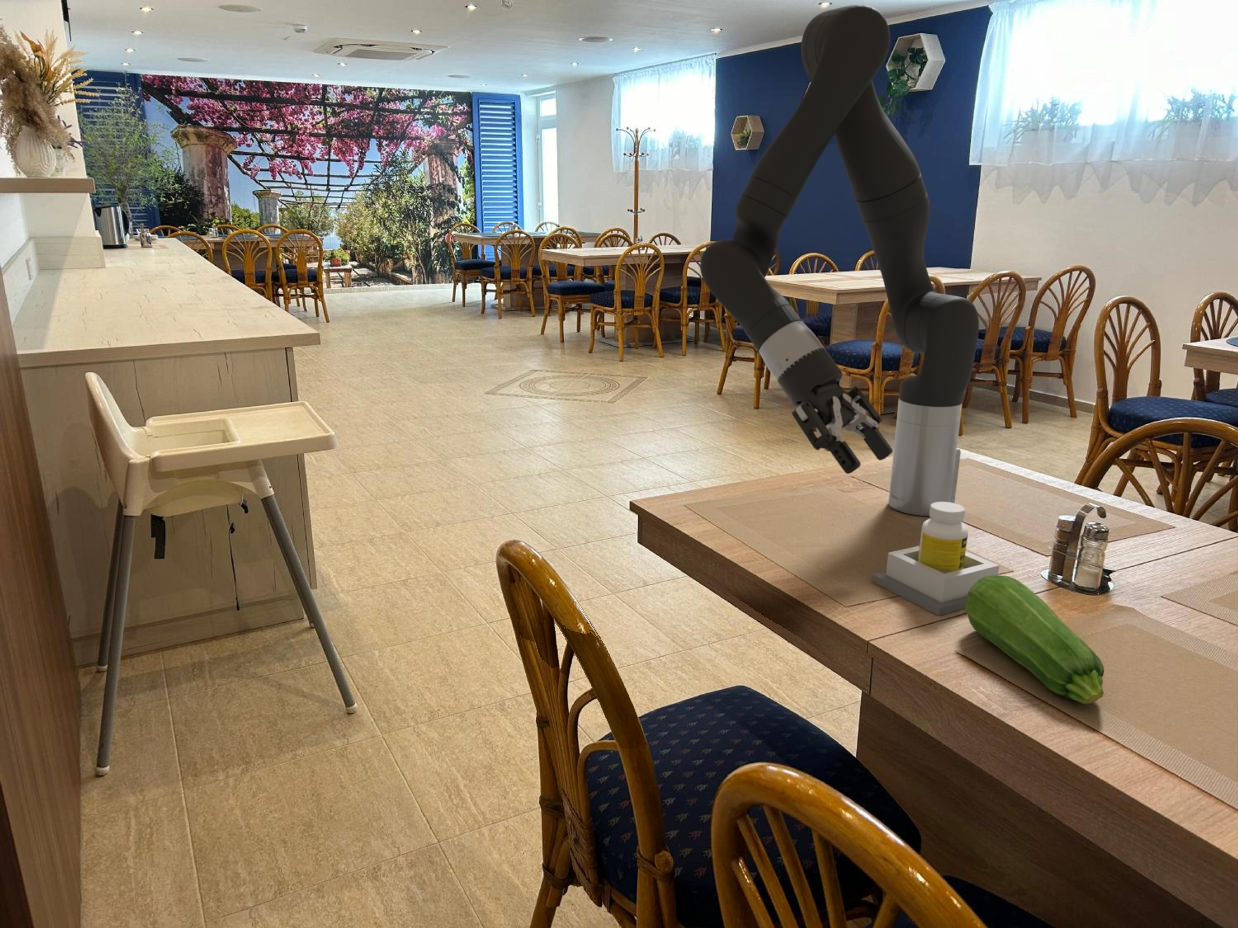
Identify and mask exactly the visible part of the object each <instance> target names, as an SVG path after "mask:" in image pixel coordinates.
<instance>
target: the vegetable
mask: <svg viewBox="0 0 1238 928" xmlns="http://www.w3.org/2000/svg"><path fill="white" fill-rule="evenodd" d="M964 611H965V613H966V614H967V615H966V616H967V618H968V621H969V623H970V625H971V627H972V628H973V630H975V631H976V632H977V633H978V634H979V635H980V636H981V637H983V638H984V639H986V640H987V641H989V642H990V643H992V645H994V646H996V647H997V648H999V649H1000V650H1001V651H1003V652H1004V653H1005V654H1007V656H1008V657H1010V658H1011V659H1012V660H1013V661H1015V662H1017V663H1018V664H1020V665H1021V666H1022V667H1023V668H1025V669H1027V671H1029V672H1031V673H1032V674H1033V675H1034V676H1035V677H1036V679H1038V680H1039V681H1040V682H1041V683H1042V684H1043V685H1044V686H1045V687H1046V688H1047V689H1048V690H1049V691H1051V692H1053V693H1054V694H1056V695H1059V696H1062V697H1064V698H1065V699H1067V700H1070V701H1071V700H1073V701H1074V702H1075V701H1076V702H1079V704H1083V705H1088V704H1094V703H1095V702H1097V701H1098V700H1099V699H1102V698H1103V697H1104V689H1103V687H1102V686H1103V682H1104V679H1103V677H1104V674H1105V667H1104V664H1103V662H1102V660H1101V659H1100V657H1099V656H1098V655H1097V654H1096V653H1095V652H1094V651H1093V649H1092V648H1090V646H1088V645H1087V643H1085V641H1083V640H1082V639H1081V638H1080V637H1079V635H1077V634H1076V633H1075V631H1073V630H1072V629H1071V628H1070V627H1069V626H1068V625H1067V624H1066V623H1064V622H1063V620H1061V618H1060V617H1058V615H1057V614H1056V613H1055V612H1054V611H1053V610H1052V609H1051V608H1050V606H1049V605H1048V604H1046V602H1045V601H1044V600H1043V599H1042V598H1041V597H1040V596H1038V595H1037V593H1035V592H1034V591H1033V590H1031V589H1030V588H1029V587H1028V586H1027V585H1025V584H1024V583H1022V582H1021V581H1019V580H1018V579H1016V578H1014V577H1011V576H1009V575H999V574H998V575H988V576H986V577H983V578H981V579H980V580H978V581H977V582H976V583H975V584H974V585H973V586H972V587H971V588H970V590H969V591H968V595H967V598H966V603H965V609H964Z"/></svg>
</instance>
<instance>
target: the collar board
mask: <svg viewBox="0 0 1238 928" xmlns="http://www.w3.org/2000/svg"><path fill="white" fill-rule="evenodd" d="M919 548H920V545H917V546H913V547H908V548H903V549H899V550H894V551H889V552H888V554H887V563H886V570H885V571H881V572H877V573H872V579H871V580H872V581H871V582H873V583H874V584H877V585H878V586H880V587H881V588H884V589H886V590H888V591H890V592H892V593H894V594H895V595H897V596H900V597H902V598H904V599H905V600H907V601H909V602H911V603H913V604H915V605H917V606H919V607H920V608H922V609H924V610H927V611H929V612H931V613H932V614H935V615H936V616H943V615H947V614H949V613H954V612H957V611H961V610H965V603H966V598H967V595H968V591H969V590H970V588H971V587H972V586H973V585H974V584H975V583H976V582H977V581H978V580H980V579H981V578H983V577H986V576H988V575H999V570H1000V565H999V564H997V563H995V562H992V561H990V560H987V559H986V558H983V557H980V556H978V555H976V554H973V553H971V552H969V551H967V550H966V552H965V560H964V567H963V569H961V570H958V571H954V572H950V573H946V574H944V573H942V572H939V571H937V570H935V569H933V568H931V567H929V566H927V565H924V564H922V563H920V562H918V556H919Z"/></svg>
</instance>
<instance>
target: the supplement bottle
mask: <svg viewBox="0 0 1238 928" xmlns="http://www.w3.org/2000/svg"><path fill="white" fill-rule="evenodd" d="M965 512H966V508H965V507H964V506H963V505H961V504H959V503H950V502H935V503H932V504H931V506H930V515H929V519H926V520H925V521H923V523H922V526H921V533H920V541H919V546H920V548H919V556H918V562H920V563H922V564H924V565H927V566H929V567H931V568H933V569H935V570H937V571H939V572H942V573H944V574H946V573H950V572H954V571H958V570H961V569H963V567H964V560H965V552H966V551H967V543H968V535H969V529H968V527H967V525H965V523H963V521H964V519H965Z"/></svg>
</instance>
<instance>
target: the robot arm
mask: <svg viewBox="0 0 1238 928" xmlns="http://www.w3.org/2000/svg"><path fill="white" fill-rule="evenodd" d="M890 44H891V31H890V27H889V24H888V21H887V19H886V18H885V16H884V15H883V14H882V12H881V11H879V9H877V8H874V7H873V6H870V5H865V4H852V5H847V6H842V7H837V8H833V9H829V10H825V11H823V12H820V13H819V14H817V15H815V16H814V17H812V19H811V20H810V21H809V22H808V24H807V25H806V27H805V29H804V32H803V34H802V38H801V43H800V51H801V53H800V54H801V61H802V65H803V67H804V70H805V73H806V75H807V77H808V79H809V81H810V84H809V87H808V88H807V90H806V92H805V94H804V96H803V98H802V100H801V101H800V103H799V105H798V107H797V108H796V109H795V111H794V113H793V114H792V116H791V117H789V118H790V119H788V121H787V122H786V123H785V125H784V126H783V127H782V129H781V130H780V131H779V133H777V135H776V136H775V138H774V139H773V140H772V142H771V143H770V144H769V146H768V147H767V148H766V149H765V151H764V153H763V154H762V156H761V157H760V159H759V160H758V162H757V164H756V165H755V167H754V169H753V171H752V173H751V175H750V177H749V179H748V181H747V183H746V185H745V187H744V188H743V190H742V192H741V195H740V197H739V199H738V201H737V204H736V207H735V209H734V215H735V219H736V221H737V225H736V228H735V231H734V233H733V236H732V239H720V240H716V241H715V242H712V243H711V244H710V245H708V246H707V247H706V249H705V250H703V253H702V255H701V258H700V263H699V264H700V265H699V269H700V275H701V277H702V280H703V281H704V284H705V285H706V287H707V288H708V290H709V291H710V292H711V294H712V295H713V296H714V297H715V299H717V301H719V303H720V304H721V305H722V306H723V307H724V308H725V309H726V310H727V312H728V313H729V314H730V315H731V316H732V317H733V318H734V319H735V320H736V321H737V322H738V324H739V325H740V326H741V328H742V329H743V331H744V332H745V334H746V337H748V339H749V340H750V341H751V343H752V345H753V346H754V347H755V349H756V350H757V352H758V353H759V355H760V356H761V358H762V359H763V362H764V364H765V366H766V367H767V369H768V371H769V372H770V373H771V375H772V376H773V377H774V379H775V380H776V383H777V384H778V385H779V386H780V387H781V389H782V390H783V392H784V393H785V394H786V395H787V396H786V397H788V399H789V400H790V402H791V403H792V404H793V406H794V407H796V408H794V410H793V411H792V413H791V414H792V416H793V418H794V420H795V421H796V422H797V424H798V426H799V428H800V429H801V430H802V432H803V433H804V434H805V436H806V439H807V440H808V441H809V442H810V444H811V446H812V447H813V448H814V449H815V450H816V451H820V449H823V450H824V451H826V452H830V454H831V455H832V457H833V458H834V459H835V460H836V462H837V464H838V465H839V467H840V468H841V469H842V470H843V471H844V473H845V474H846V475H847V474H849V475H850V474H851V473H854V472H855V471H856V470H857V469H859V468H860V467H861V461H860V460H859V458H858V457H857V456H856V453H854V451H853V450H852V448H851V447H850V446H849V445H848V443H847V441H846V440H844V439H843V434H842V429H843V428H844V429H845V430H847V431H853V432H855V433H856V434H858V435H859V436H861V437H862V438H863V441H864V442H865V444H866V445H867V446H868V448H869V450H871V452H872V454H873V455H874V456H875V457H876V459H877V460H879V461H883V460H885V459H886V458H888V457H889V456H890V455H892V454H893V457H892V466H891V474H890V475H891V476H890V482H889V483H890V484H889V486H890V487H889V495H888V496H889V497H888V505H889V507H891V508H892V509H894V510H896V511H898V512H901V513H904V514H909V515H914V516H915V515H916V516H929V515H930V506H931V504H932V503H935V502H950V503H955V502H956V495H957V493H956V492H957V488H958V487H957V485H958V484H957V483H958V477H959V469H960V461H961V450H960V448H958V442H959V441H958V439H959V434H960V431H959V430H960V426H961V425H960V424H961V417H962V407H963V399H964V395H965V392H966V390H967V388H968V386H969V384H970V381H971V377H972V374H973V369H974V364H975V363H974V362H975V357H976V350H977V345H978V340H979V332H980V331H979V330H980V321H979V320H980V319H979V314H978V310H977V308H976V306H975V304H974V303H973V302H972V301H970V300H969V298H965V297H961V296H959V295H958V296H957V295H952V294H943V293H938V292H937V291H936V289H935V288H934V285H933V283H932V280H931V278H930V276H929V271H928V270H927V269H928V268H927V266H926V262H925V254H924V253H925V249H924V248H925V243H926V242H925V241H926V239H927V234H928V228H929V222H930V217H931V216H930V213H931V207H930V199H929V195H928V192H927V189H926V186H925V185H926V184H925V182H924V179H923V176H922V172H921V170H920V167H919V164H918V162H917V160H916V157H915V155H914V153H913V152H912V151H911V149H910V148H909V146H908V144H907V142H906V141H905V140H904V138H903V137H902V135H901V134H900V132H899V131H898V130H897V129H896V127H895V125H893V123H892V121H891V120H890V118H889V117H888V116H887V114H886V112H885V111H884V109H883V107H882V105H881V103H880V101H879V98H878V95H877V91H876V89H875V87H874V83H873V79H874V77H875V76H876V75H877V73H879V70H881V67H882V66H883V63H885V61H886V58H887V56H888V53H889V50H890ZM833 137H834V138H835V141H836V144H837V147H838V150H839V154H840V157H841V160H842V163H843V165H844V168H845V171H846V175H847V177H848V180H849V183H850V186H851V191H852V194H853V197H854V200H855V201H856V205H857V208H858V211H859V214H860V217H861V219H862V222H863V224H864V227H865V230H866V232H867V234H868V237H869V240H870V244H871V247H872V251H873V253H874V256H875V259H876V262H877V266H878V267H879V268H878V269H879V271H880V273H881V277H882V281H883V283H884V284H883V285H884V289H885V292H886V297H887V302H888V307H889V311H890V317H891V320H892V324H893V327H894V331H895V334H896V337H897V338H898V340H899V342H900V344H902V346H904V347H905V348H906V349H907V350H908V351H911V352H914V353H916V354H921V355H922V354H923V359H922V363H921V369H920V371H919V372H918V373H917V374H916V375H914V376H909V377H906V378H904V379H903V380H902V381H901V383H900V386H899V395H898V404H897V415H896V425H895V432H894V433H895V435H894V443H893V444H894V446H893V448H892V447H891V445H890V443H888V442H887V440H886V439H885V437H884V435H883V434H882V433H881V431H880V430H879V427H880V425H879V424H880V423H881V422H883V418H882V416H881V415H880V414H879V412H878V411H877V410H876V409H875V408H874V406H873V405H872V403H871V402H870V401H869V400H868V398H867V397H866V395H864V393H863V391H861V389H860V388H859V387H858V386H853V387H852V388H851V389H849V390H848V391H846V390H845V389H844V388H843V387H842V386H841V385H840V381H842V379H843V372H842V370H841V369H840V368H839V366H838V364H836V362H835V361H834V359H833V358H832V356H831V355H830V354H829V353H828V351H827V349H825V347H824V345H823V344H822V342H821V341H820V340H819V339H818V337H817V336H816V334H815V333H814V332H813V331H812V329H810V328H809V327H808V326H807V325H806V324H805V322H804V321H803V320H802V319H801V317H800V315H798V313H797V312H796V311H795V309H794V308H793V306H792V305H791V303H790V302H789V301H788V300H787V299H786V298H785V297H784V295H782V293H780V292H779V291H777V290H776V289H775V288H773V287H772V286H771V284H770V283H769V282H768V281H767V279H766V276H767V274H768V272H769V269H770V267H771V264H772V261H773V258H774V255H775V252H776V249H777V246H778V242H779V238H780V234H781V231H782V229H783V227H784V225H785V224H786V222H787V220H788V218H789V216H790V214H791V213H792V211H793V209H794V206H795V204H796V202H797V201H798V198H799V197H800V195H801V194H802V191H803V189H804V188H805V186H806V183H807V182H808V179H809V177H810V176H811V174H812V173H813V170H814V169H815V166H816V165H817V163H818V162H819V160H820V159H821V156H822V155H823V153H824V151H825V150H826V148H827V147H828V145H829V143H830V142H831V140H832V139H833ZM867 413H868V414H867ZM869 415H870V416H871V417H870V416H869ZM815 430H816V434H817V435H816V434H815V432H814V431H815ZM955 504H956V503H955ZM929 517H930V516H929Z"/></svg>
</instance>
